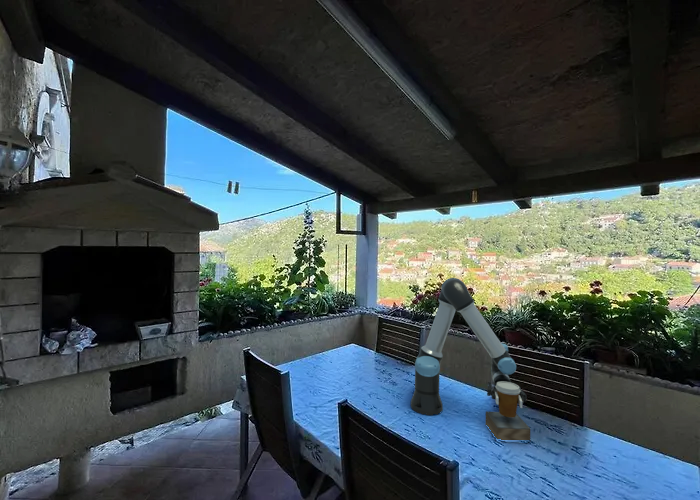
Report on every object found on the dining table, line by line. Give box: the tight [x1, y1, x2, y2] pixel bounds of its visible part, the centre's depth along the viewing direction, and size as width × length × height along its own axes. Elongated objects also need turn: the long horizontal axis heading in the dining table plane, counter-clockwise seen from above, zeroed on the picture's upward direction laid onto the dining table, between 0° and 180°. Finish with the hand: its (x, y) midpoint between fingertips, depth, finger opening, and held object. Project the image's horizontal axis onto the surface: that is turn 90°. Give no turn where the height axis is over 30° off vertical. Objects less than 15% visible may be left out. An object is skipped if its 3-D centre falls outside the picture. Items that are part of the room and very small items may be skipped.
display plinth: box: [485, 410, 531, 441], centre depth 138 cm, size 13×13×6 cm
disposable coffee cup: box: [496, 381, 522, 417], centre depth 138 cm, size 10×10×12 cm
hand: (509, 403), depth 133 cm, fingers closed on disposable coffee cup, 8 cm apart
